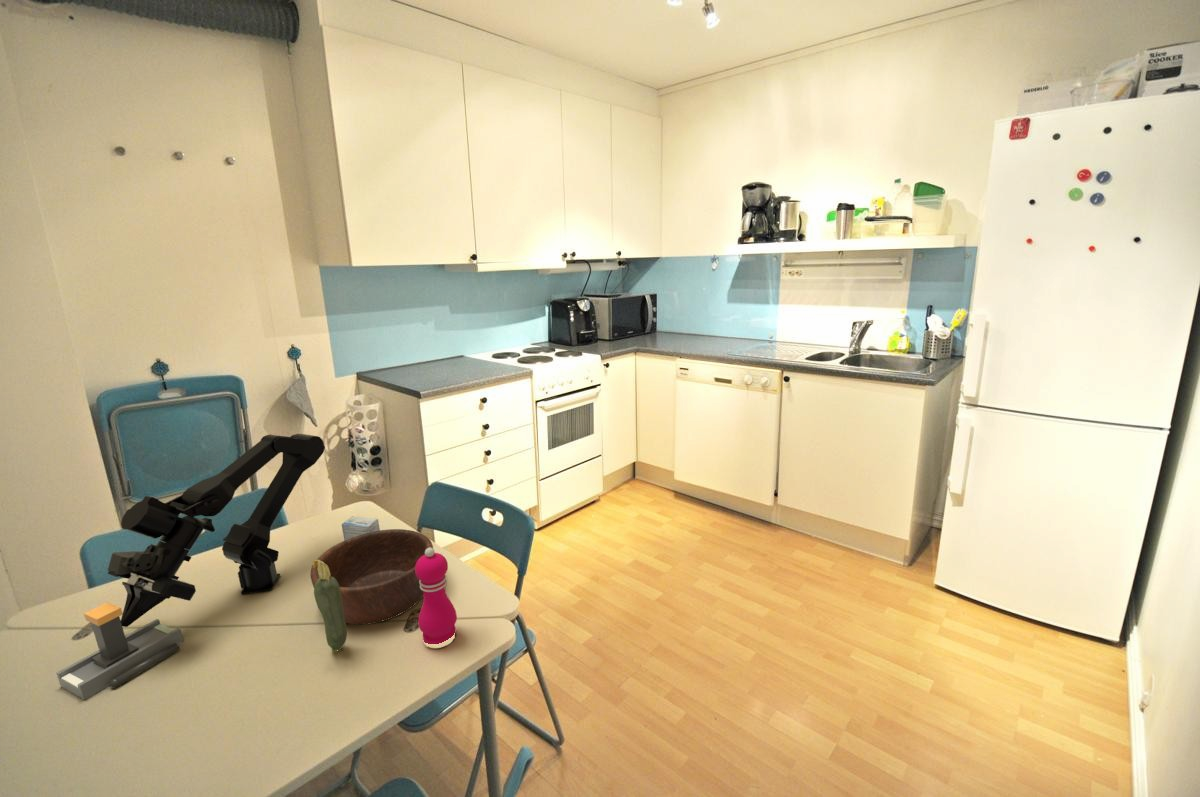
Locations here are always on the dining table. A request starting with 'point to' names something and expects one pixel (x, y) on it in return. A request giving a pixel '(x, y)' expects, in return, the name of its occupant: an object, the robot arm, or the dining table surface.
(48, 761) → the dining table surface
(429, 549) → the pepper mill
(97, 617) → the orange-capped post
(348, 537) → the medicine box
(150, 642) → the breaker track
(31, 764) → the dining table surface
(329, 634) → the vegetable
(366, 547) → the wooden bowl
